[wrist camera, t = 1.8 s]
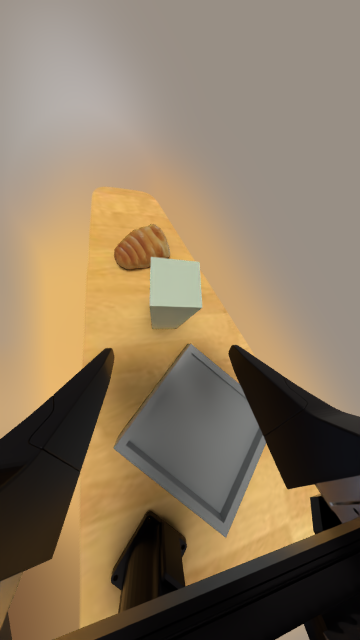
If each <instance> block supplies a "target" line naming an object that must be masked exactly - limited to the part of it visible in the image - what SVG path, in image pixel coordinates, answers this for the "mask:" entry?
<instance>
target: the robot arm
mask: <svg viewBox="0 0 360 640" xmlns="http://www.w3.org/2000/svg"><path fill="white" fill-rule="evenodd" d="M229 357H230V360H231V363H232V366H233V369H234V372H235V374H236V377H237V379H238V381H239V383H240V385H241V388H242V390H243V392H244V394H245V397H246V399H247V401H248V403H249V405H250V408H251V410H252V412H253V414H254V417H255V419H256V421H257V423H258V425H259V428H260V430H261V432H262V434H263V436H264V439H265V441H266V443H267V446H268V448H269V450H270V452H271V454H272V457H273V459H274V461H275V463H276V466H277V468H278V470H279V472H280V475H281V477H282V479H283V481H284V483H285V485H286V487H287V489H292V488H297V487H302V486H308V485H313V484H315V485H316V487H317V489H318V490H319V492H320V493H321V494H319V495H316V496H313V497H310V501H311V511H312V521H313V530H314V533H315V535H313V536H311V537H308V538H306V539H303V540H301V541H298V542H296V543H293V544H291V545H288V546H286V547H283V548H281V549H278V550H276V551H273V552H271V553H268V554H266V555H263V556H261V557H258V558H256V559H253V560H251V561H248V562H246V563H243V564H241V565H238V566H236V567H233V568H231V569H228V570H226V571H223V572H221V573H218V574H216V575H213V576H211V577H208V578H206V579H203V580H201V581H198V582H196V583H193V584H191V585H188V586H186V587H185V579H184V572H183V564H182V557H183V555H184V552H185V550H186V548H187V544H186V539H185V538H184V537H183V536H182V535H181V534H179V533H178V532H177V531H176V530H175V529H173V528H172V527H171V526H169V525H168V524H167V523H166V522H164V521H163V520H161V519H160V518H159V517H158V516H156V515H155V514H154V513H153V512H151V511H149V512H147V513H146V515H145V517H144V518H143V520H142V522H141V523H140V525H139V527H138V529H137V530H136V532H135V534H134V535H133V537H132V539H131V540H130V542H129V544H128V545H127V547H126V549H125V551H124V552H123V554H122V556H121V557H120V559H119V561H118V562H117V564H116V566H115V567H114V569H113V571H112V577H111V583H112V584H113V585H115V586H116V587H117V588H119V589H120V590H121V596H120V604H119V611H118V614H116V615H113V616H111V617H108V618H106V619H103V620H101V621H98V622H96V623H93V624H91V625H88V626H86V627H83V628H81V629H78V630H76V631H73V632H71V633H69V634H66V635H63V636H61V637H58V638H56V639H53V640H275V639H277V638H279V637H280V636H282V635H284V634H286V633H288V632H290V631H291V630H293V629H295V628H297V627H298V626H300V625H302V624H304V626H305V629H306V631H307V634H308V637H309V639H310V640H360V417H359V416H355V415H351V414H348V413H345V412H342V411H340V410H338V409H336V408H334V407H332V406H330V405H328V404H327V403H325V402H323V401H322V400H320V399H318V398H317V397H315V396H313V395H312V394H310V393H309V392H307V391H305V390H304V389H302V388H301V387H299V386H297V385H296V384H294V383H293V382H291V381H290V380H288V379H287V378H285V377H284V376H282V375H281V374H279V373H278V372H276V371H275V370H274V369H272V368H271V367H269V366H268V365H266V364H265V363H263V362H262V361H260V360H259V359H257V358H256V357H254V356H253V355H251V354H250V353H248V352H247V351H245V350H244V349H242V348H241V347H239V346H238V345H232V346H231V348H230V350H229ZM113 363H114V353H113V349H112V348H106V349H104V350H103V351H102V352H101V353H100V354H98V355H97V356H96V357H95V358H94V359H93V360H92V361H91V362H90V363H88V364H87V365H86V366H85V367H84V368H83V369H82V370H81V371H80V372H78V373H77V374H76V375H75V376H74V377H73V378H72V379H71V380H69V381H68V382H67V383H66V384H65V385H64V386H63V387H62V388H61V389H59V390H58V391H57V392H56V393H55V394H54V396H52V397H50V398H49V399H48V400H47V401H46V402H45V403H44V404H43V405H41V406H40V407H39V408H38V409H37V410H36V411H34V412H33V413H32V414H31V415H30V416H29V417H28V418H26V419H25V420H24V421H22V422H21V423H20V424H19V425H18V426H16V427H15V428H14V429H12V430H11V431H10V432H9V433H7V434H6V435H5V436H4V437H3V438H1V439H0V640H12V637H11V630H10V623H9V617H8V609H9V607H10V604H11V602H12V599H13V597H14V594H15V592H16V589H17V587H18V584H19V581H20V579H21V576H22V574H23V571H25V570H28V569H30V568H32V567H34V566H37V565H39V564H41V563H44V562H46V561H48V560H50V559H52V557H53V554H54V551H55V548H56V545H57V542H58V539H59V536H60V533H61V530H62V527H63V524H64V521H65V517H66V514H67V511H68V508H69V505H70V502H71V499H72V496H73V493H74V490H75V487H76V484H77V481H78V478H79V475H80V471H81V468H82V465H83V462H84V459H85V456H86V453H87V450H88V447H89V444H90V441H91V438H92V434H93V431H94V428H95V425H96V422H97V419H98V416H99V413H100V410H101V407H102V404H103V401H104V398H105V395H106V392H107V389H108V385H109V382H110V378H111V373H112V368H113ZM148 518H150V519H148Z"/></svg>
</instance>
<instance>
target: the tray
mask: <svg viewBox="0 0 360 640" xmlns="http://www.w3.org/2000/svg"><path fill="white" fill-rule="evenodd" d="M265 444H266V441H265V439H264V436H263V434H262V432H261V430H260V428H259V425H258V423H257V421H256V419H255V417H254V414H253V412H252V410H251V408H250V405H249V403H248V401H247V399H246V397H245V394H244V392H243V390H242V388H241V385H240V384H239V383H237V382H236V381H235V380H234V379H233V378H231V377H230V376H229V375H228V374H227V373H225V372H224V371H223V370H222V369H221V368H219V367H218V366H217V365H216V364H215V363H213V362H212V361H211V360H210V359H209V358H207V357H206V356H205V355H204V354H203V353H201V352H200V351H199V350H198V349H197V348H195V347H194V346H193V345H192V344H187V346H186V347H185V348H184V350H183V351H182V352H181V354H180V355H179V356H178V358H177V359H176V360H175V362H174V363H173V364H172V366H171V367H170V368H169V370H168V371H167V372H166V374H165V375H164V376H163V378H162V379H161V380H160V382H159V383H158V384H157V386H156V387H155V388H154V390H153V391H152V392H151V394H150V395H149V396H148V398H147V399H146V400H145V402H144V403H143V404H142V406H141V407H140V408H139V410H138V411H137V412H136V414H135V415H134V416H133V418H132V419H131V420H130V422H129V423H128V424H127V426H126V427H125V428H124V430H123V431H122V432H121V434H120V435H119V436H118V438H117V441H116V443H115V446H114V449H115V450H116V451H117V452H119V453H120V454H121V455H122V456H124V457H125V458H126V459H127V460H129V461H130V462H131V463H132V464H134V465H135V466H136V467H138V468H139V469H140V470H141V471H143V472H144V473H145V474H146V475H148V476H149V477H150V478H151V479H153V480H154V481H155V482H156V483H158V484H159V485H160V486H161V487H163V488H164V489H165V490H166V491H168V492H169V493H170V494H172V495H173V496H174V497H175V498H177V499H178V500H179V501H180V502H182V503H183V504H184V505H185V506H187V507H188V508H189V509H190V510H192V511H193V512H194V513H195V514H197V515H198V516H199V517H200V518H202V519H203V520H204V521H206V522H207V523H208V524H209V525H211V526H212V527H213V528H214V529H216V530H217V531H218V532H219V533H221V534H222V535H223V536H224V537H226V536H227V534H228V532H229V529H230V527H231V525H232V522H233V520H234V518H235V515H236V513H237V510H238V508H239V506H240V503H241V501H242V499H243V496H244V494H245V491H246V489H247V487H248V484H249V482H250V480H251V477H252V475H253V473H254V470H255V468H256V465H257V463H258V461H259V458H260V456H261V454H262V451H263V449H264V447H265Z"/></svg>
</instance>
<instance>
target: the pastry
mask: <svg viewBox="0 0 360 640" xmlns="http://www.w3.org/2000/svg"><path fill="white" fill-rule="evenodd" d="M169 256H170V249H169V245H168V243H167V239H166V237H165V235H164V233H163V231H162V230H161V229H160V228H159V227H157V226H156V225H155V224H150V225H149V226H147V227H141V228H139V229H136V230H133V231H132V232H131V233H130V234H128V235H127V236H126V237H125V238H124V239H123V240H122V241H121V242H120V243H119V244H118V246H117V247H116V248H115V252H114V257H115V260H116V262H117V264H118V265H120V266H121V267H123V268H126V269H134V268H148V267H149V266H151V257H157V258H166V259H167V258H168V257H169Z"/></svg>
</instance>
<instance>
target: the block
mask: <svg viewBox="0 0 360 640" xmlns="http://www.w3.org/2000/svg"><path fill="white" fill-rule="evenodd" d="M201 308H202V296H201V280H200V264H199V262H194V261H185V260H175V259H166V258H157V257H151V270H150V313H151V322H152V329H176V328H178V327H179V326H180V325H181V324H183V323H184V322H185V321H186V320H188V319H189V318H190V317H191V316H193V315H194V314H195V313H196V312H197V311H199V310H200V309H201Z"/></svg>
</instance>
